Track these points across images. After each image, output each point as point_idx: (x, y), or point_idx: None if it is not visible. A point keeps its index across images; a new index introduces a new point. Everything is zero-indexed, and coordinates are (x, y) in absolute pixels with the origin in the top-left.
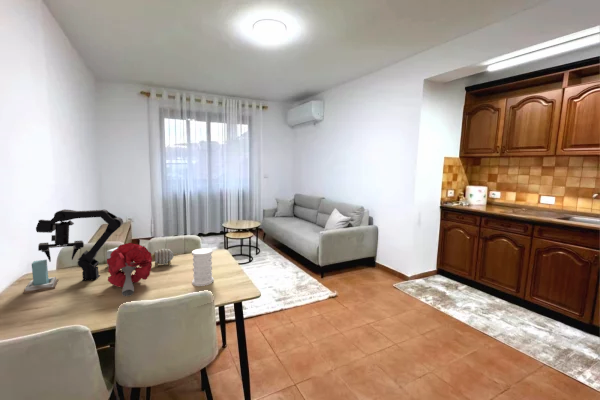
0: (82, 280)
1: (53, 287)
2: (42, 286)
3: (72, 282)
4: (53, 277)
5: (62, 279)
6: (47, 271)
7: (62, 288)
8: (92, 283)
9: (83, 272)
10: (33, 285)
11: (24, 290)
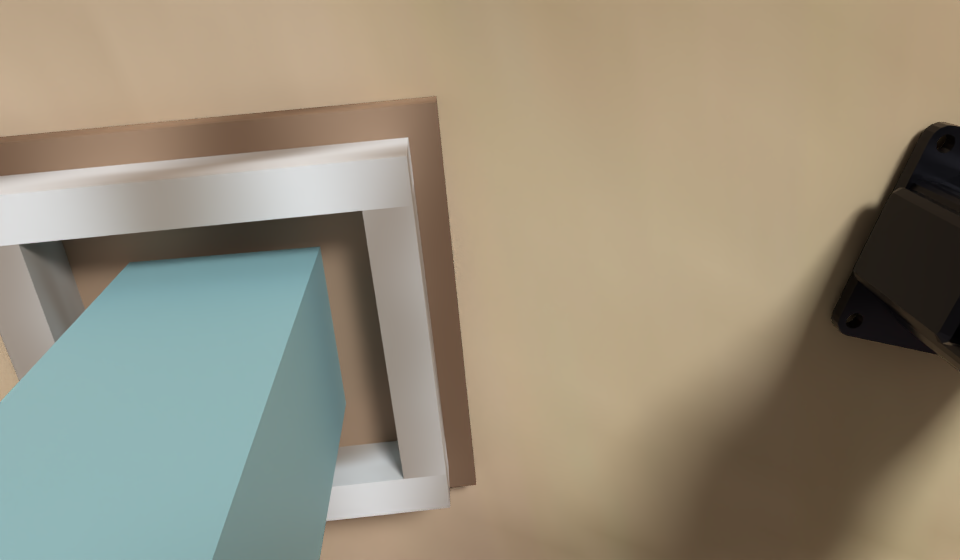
0: (836, 327)
1: (462, 483)
2: None
3: (686, 312)
4: (368, 179)
5: (497, 57)
6: (280, 408)
7: (578, 501)
8: (942, 468)
9: (951, 353)
10: (96, 285)
11: None
